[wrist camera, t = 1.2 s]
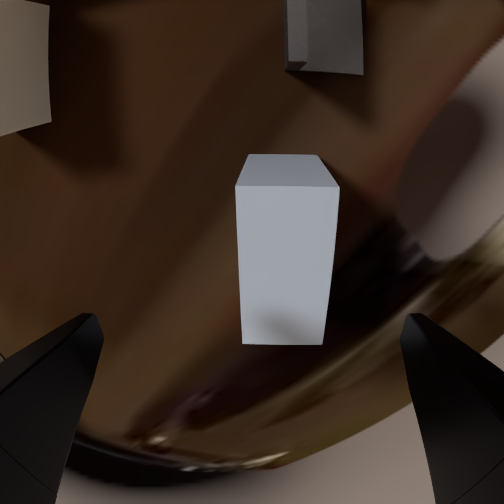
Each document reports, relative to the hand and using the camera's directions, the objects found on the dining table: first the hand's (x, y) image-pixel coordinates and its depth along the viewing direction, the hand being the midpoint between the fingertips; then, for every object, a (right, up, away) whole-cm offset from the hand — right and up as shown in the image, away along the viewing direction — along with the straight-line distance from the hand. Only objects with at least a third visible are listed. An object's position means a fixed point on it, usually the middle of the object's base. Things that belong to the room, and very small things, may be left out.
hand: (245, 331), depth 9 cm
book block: (-16, +15, +7) cm, 23 cm away
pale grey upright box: (+2, +4, +12) cm, 13 cm away
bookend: (+4, +15, +6) cm, 17 cm away
